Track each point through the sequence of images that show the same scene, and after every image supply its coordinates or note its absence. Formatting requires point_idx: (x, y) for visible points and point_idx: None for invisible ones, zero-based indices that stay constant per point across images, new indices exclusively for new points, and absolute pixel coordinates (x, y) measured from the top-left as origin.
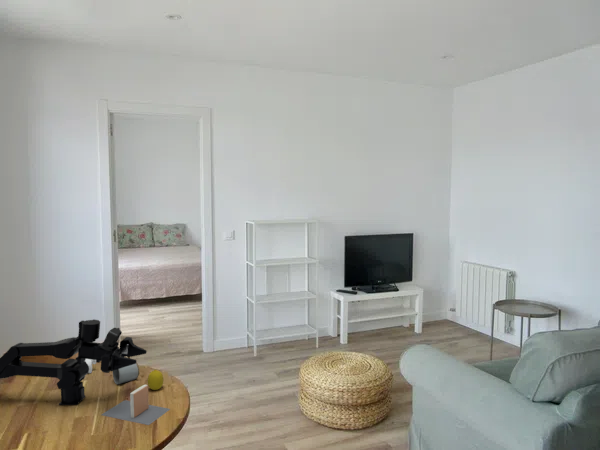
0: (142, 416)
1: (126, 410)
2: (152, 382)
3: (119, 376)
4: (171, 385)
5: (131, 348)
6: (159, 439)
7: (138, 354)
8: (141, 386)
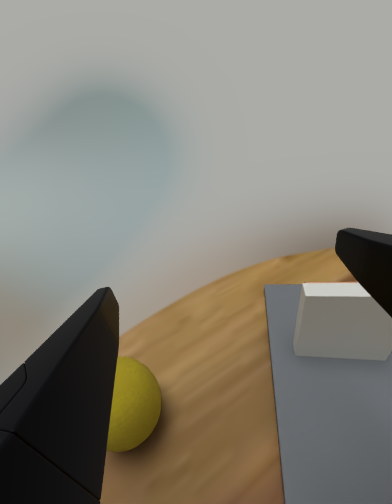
0: None
1: (363, 420)
2: (158, 391)
3: None
4: None
5: (22, 498)
6: None
7: (109, 384)
8: (331, 296)
